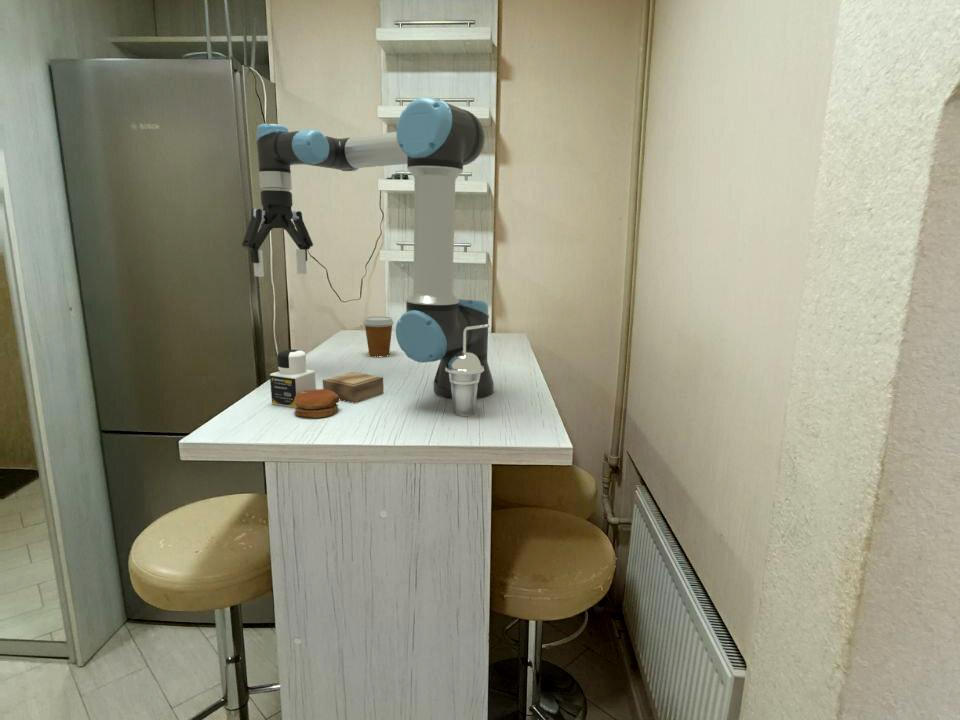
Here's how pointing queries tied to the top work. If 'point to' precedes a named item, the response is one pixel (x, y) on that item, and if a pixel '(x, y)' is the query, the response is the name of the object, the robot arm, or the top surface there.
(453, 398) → the cup with straw
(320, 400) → the burger
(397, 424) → the top surface
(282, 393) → the medicine bottle
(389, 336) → the disposable coffee cup
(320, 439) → the top surface
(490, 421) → the top surface
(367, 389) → the plinth
